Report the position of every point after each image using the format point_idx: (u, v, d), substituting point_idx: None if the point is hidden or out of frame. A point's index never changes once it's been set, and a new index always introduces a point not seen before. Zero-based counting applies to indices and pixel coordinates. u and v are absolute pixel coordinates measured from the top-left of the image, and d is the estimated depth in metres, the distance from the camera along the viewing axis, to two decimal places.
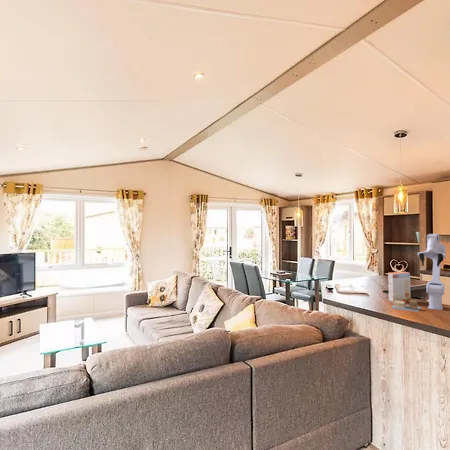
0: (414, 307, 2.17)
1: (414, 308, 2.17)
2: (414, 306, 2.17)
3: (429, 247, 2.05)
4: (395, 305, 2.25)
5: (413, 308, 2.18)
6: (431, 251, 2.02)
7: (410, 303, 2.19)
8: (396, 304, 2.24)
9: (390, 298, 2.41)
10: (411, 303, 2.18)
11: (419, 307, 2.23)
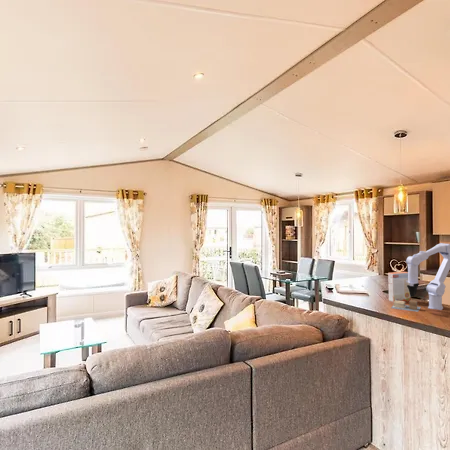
0: (414, 307, 2.17)
1: (414, 308, 2.17)
2: (414, 306, 2.17)
3: None
4: (395, 305, 2.25)
5: (413, 308, 2.18)
6: None
7: (410, 303, 2.19)
8: (396, 304, 2.24)
9: (390, 298, 2.41)
10: (411, 303, 2.18)
11: (419, 307, 2.23)
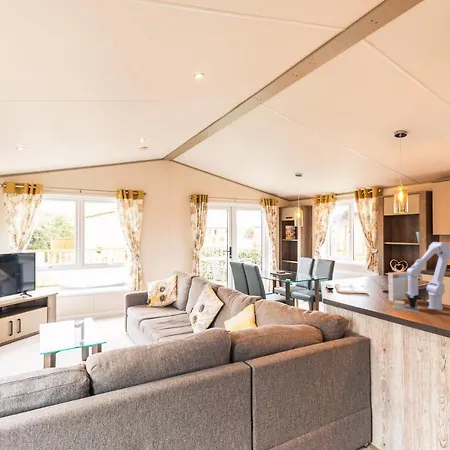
0: None
1: (414, 308, 2.17)
2: None
3: None
4: (395, 305, 2.25)
5: (413, 308, 2.18)
6: None
7: None
8: (396, 304, 2.24)
9: (390, 298, 2.41)
10: None
11: (419, 307, 2.23)
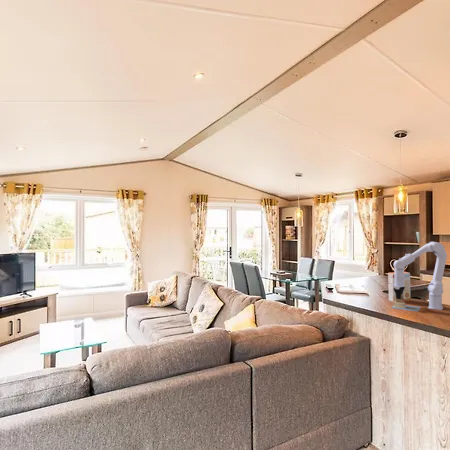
0: (400, 300, 2.24)
1: (400, 301, 2.24)
2: (400, 299, 2.24)
3: None
4: (395, 305, 2.25)
5: (399, 301, 2.24)
6: None
7: None
8: (396, 304, 2.24)
9: (390, 298, 2.41)
10: None
11: (419, 307, 2.23)
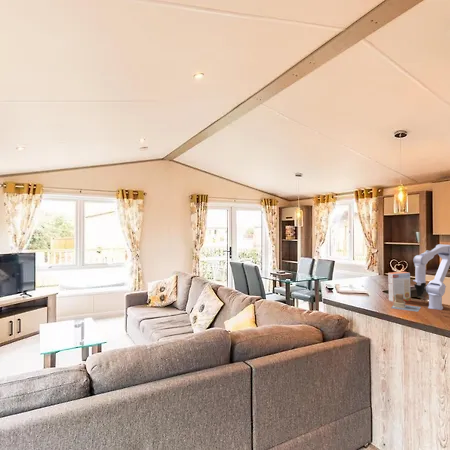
0: (400, 300, 2.24)
1: (400, 301, 2.24)
2: (400, 299, 2.24)
3: None
4: (395, 305, 2.25)
5: (399, 301, 2.24)
6: (415, 281, 2.17)
7: (396, 296, 2.25)
8: (396, 304, 2.24)
9: (390, 298, 2.41)
10: (397, 296, 2.25)
11: (419, 307, 2.23)
